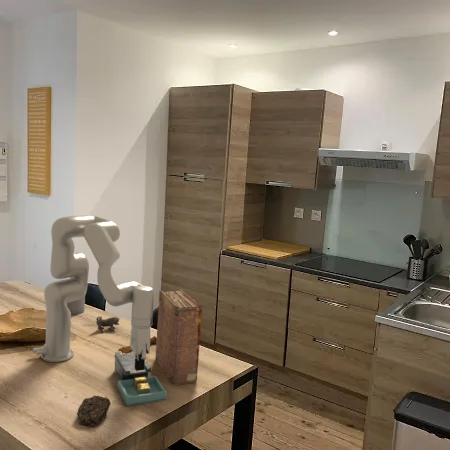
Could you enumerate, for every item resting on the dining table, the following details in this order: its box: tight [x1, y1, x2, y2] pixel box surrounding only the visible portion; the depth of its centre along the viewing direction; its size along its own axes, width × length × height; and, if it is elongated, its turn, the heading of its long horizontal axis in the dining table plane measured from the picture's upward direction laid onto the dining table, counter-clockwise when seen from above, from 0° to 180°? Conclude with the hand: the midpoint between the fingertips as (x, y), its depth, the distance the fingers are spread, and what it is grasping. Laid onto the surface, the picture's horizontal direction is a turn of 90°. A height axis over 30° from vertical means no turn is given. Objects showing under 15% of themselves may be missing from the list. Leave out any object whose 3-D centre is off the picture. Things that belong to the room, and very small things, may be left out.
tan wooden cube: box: [136, 383, 150, 395], centre depth 166 cm, size 4×4×3 cm
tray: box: [117, 375, 167, 407], centre depth 167 cm, size 14×13×3 cm
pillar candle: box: [67, 295, 86, 315], centre depth 249 cm, size 10×10×15 cm
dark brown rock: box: [76, 394, 112, 427], centre depth 151 cm, size 12×10×5 cm
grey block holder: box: [114, 351, 153, 381], centre depth 179 cm, size 10×17×7 cm, turn 26°
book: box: [155, 289, 203, 386], centre depth 187 cm, size 25×9×30 cm, turn 24°
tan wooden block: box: [133, 375, 147, 391], centre depth 170 cm, size 4×4×3 cm
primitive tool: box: [118, 335, 157, 354], centre depth 209 cm, size 19×6×4 cm, turn 139°
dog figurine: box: [95, 315, 120, 334], centre depth 226 cm, size 12×6×7 cm, turn 123°
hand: (139, 369), depth 171 cm, fingers closed
